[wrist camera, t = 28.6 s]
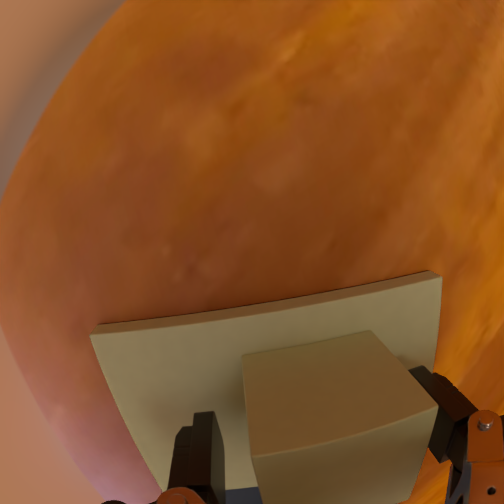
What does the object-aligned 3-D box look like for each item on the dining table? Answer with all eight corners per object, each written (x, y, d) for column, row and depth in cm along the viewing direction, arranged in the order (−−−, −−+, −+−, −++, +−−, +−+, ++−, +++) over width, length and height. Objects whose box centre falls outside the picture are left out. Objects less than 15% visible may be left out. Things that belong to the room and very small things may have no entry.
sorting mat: (206, 544, 16) (206, 554, 15) (97, 324, 12) (88, 335, 11) (386, 511, 17) (390, 520, 16) (429, 270, 12) (442, 276, 11)
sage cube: (258, 444, 12) (271, 536, 7) (240, 354, 11) (250, 457, 6) (366, 421, 13) (409, 499, 8) (371, 329, 11) (439, 405, 7)
